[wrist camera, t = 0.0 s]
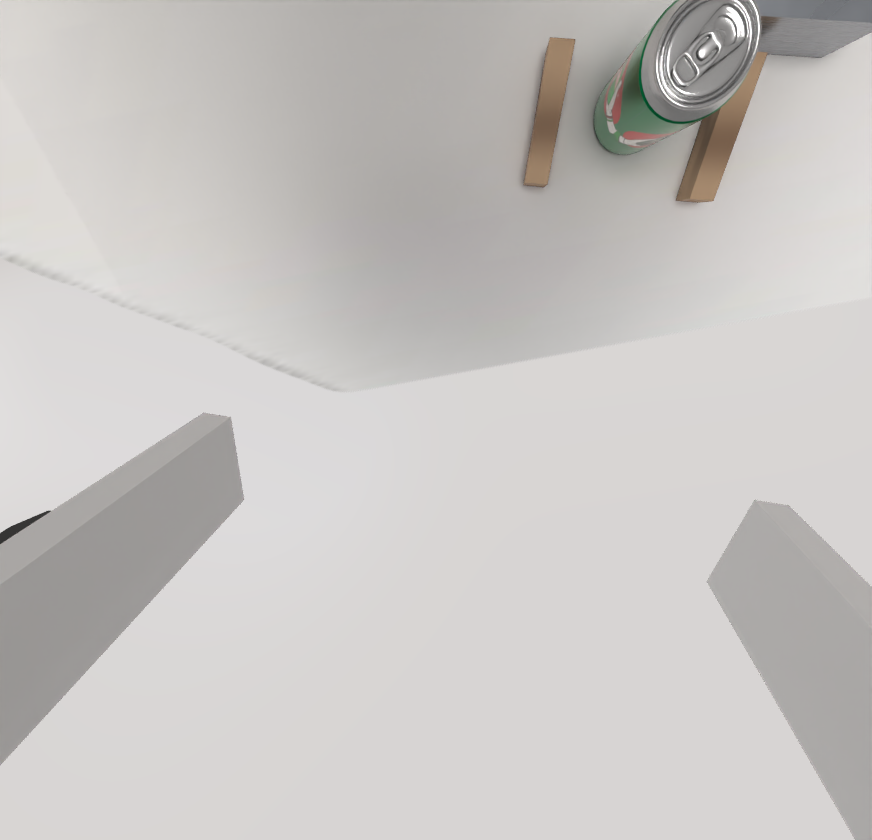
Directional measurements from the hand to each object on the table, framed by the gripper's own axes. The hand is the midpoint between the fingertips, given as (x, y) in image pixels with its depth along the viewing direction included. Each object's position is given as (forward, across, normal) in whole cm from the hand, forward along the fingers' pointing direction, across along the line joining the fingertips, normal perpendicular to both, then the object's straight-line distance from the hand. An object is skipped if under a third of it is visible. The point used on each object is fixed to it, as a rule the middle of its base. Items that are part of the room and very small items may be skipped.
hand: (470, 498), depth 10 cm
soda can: (+29, +8, +14) cm, 33 cm away
